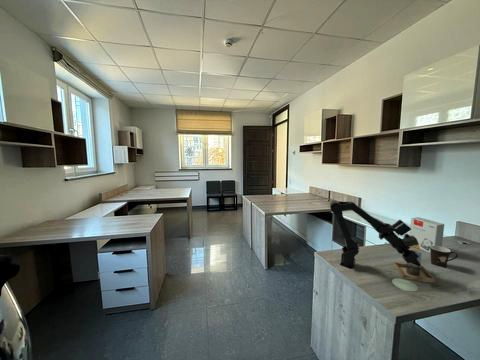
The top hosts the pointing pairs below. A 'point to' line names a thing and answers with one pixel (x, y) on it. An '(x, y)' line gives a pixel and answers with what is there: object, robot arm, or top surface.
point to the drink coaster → (404, 285)
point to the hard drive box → (426, 233)
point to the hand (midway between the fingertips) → (416, 262)
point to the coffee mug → (440, 255)
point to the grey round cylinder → (414, 266)
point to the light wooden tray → (424, 275)
